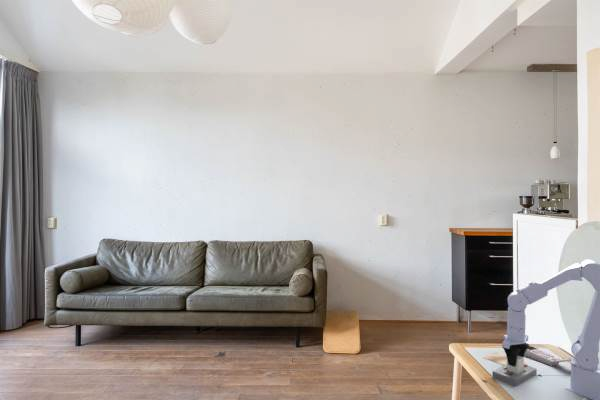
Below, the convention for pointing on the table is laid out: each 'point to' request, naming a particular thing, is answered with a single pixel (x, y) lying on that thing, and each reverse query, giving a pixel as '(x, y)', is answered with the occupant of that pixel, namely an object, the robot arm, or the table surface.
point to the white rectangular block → (517, 366)
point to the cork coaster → (497, 358)
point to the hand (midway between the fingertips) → (515, 364)
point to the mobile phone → (543, 356)
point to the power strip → (514, 375)
